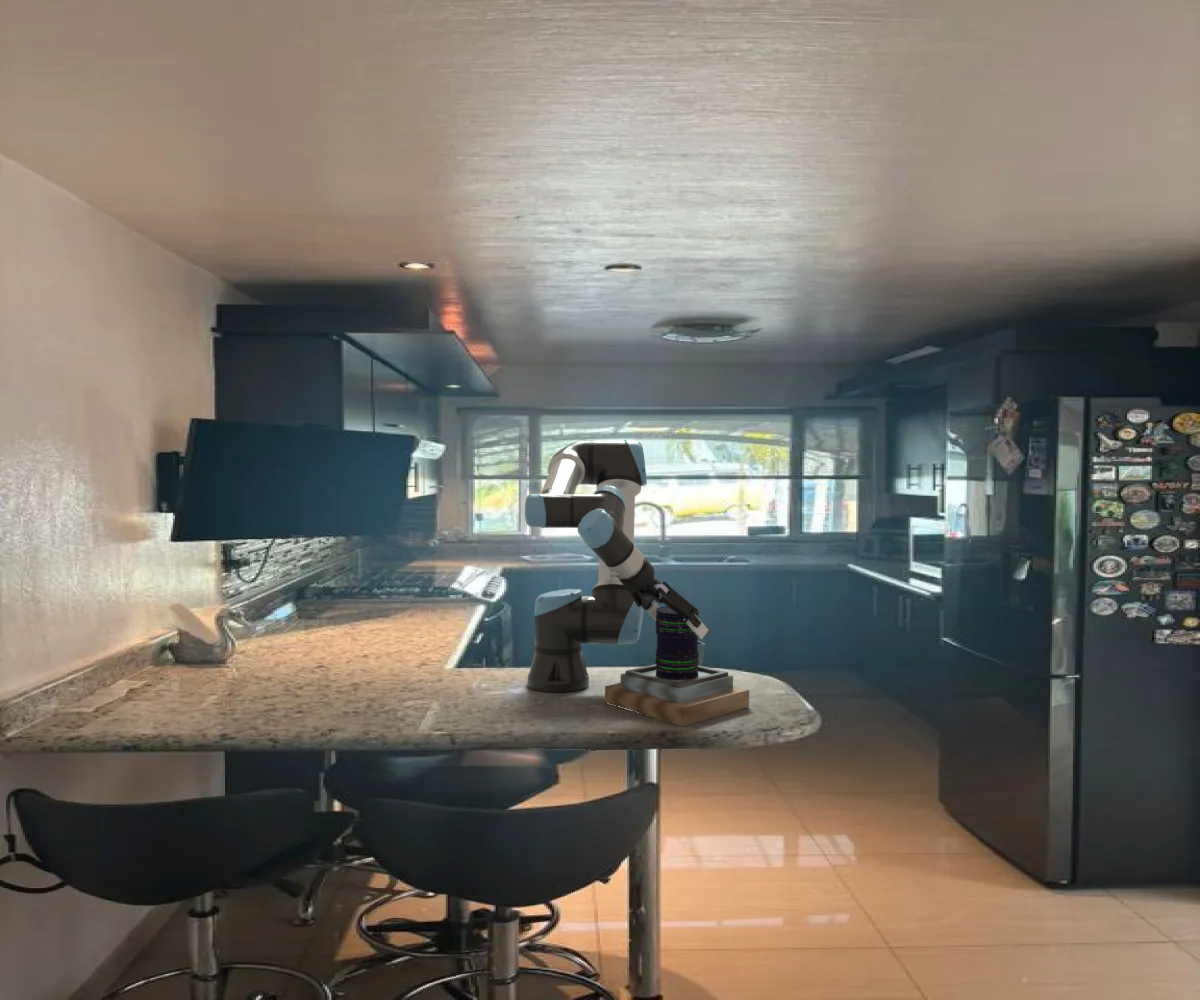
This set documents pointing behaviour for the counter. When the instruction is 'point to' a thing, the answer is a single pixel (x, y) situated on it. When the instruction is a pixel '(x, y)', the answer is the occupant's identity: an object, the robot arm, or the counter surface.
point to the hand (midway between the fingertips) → (685, 629)
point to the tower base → (679, 708)
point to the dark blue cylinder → (675, 646)
